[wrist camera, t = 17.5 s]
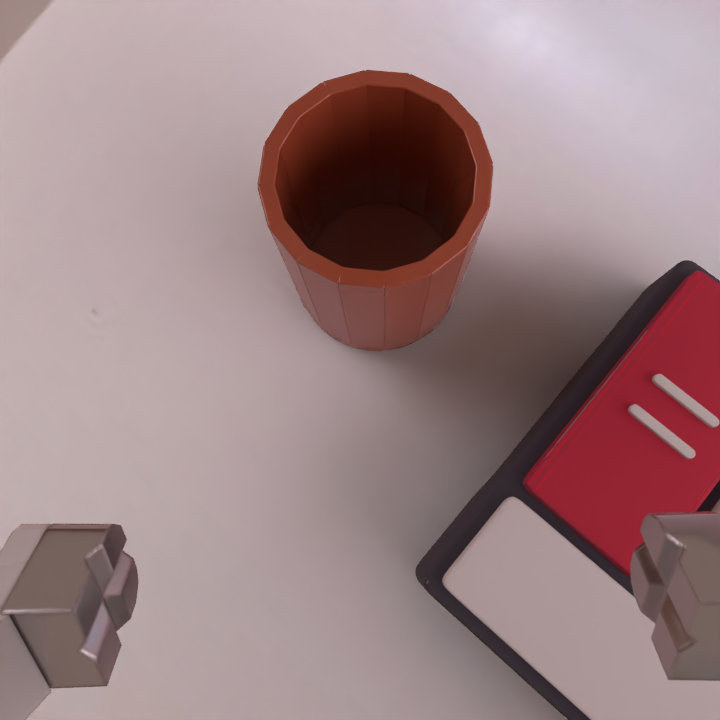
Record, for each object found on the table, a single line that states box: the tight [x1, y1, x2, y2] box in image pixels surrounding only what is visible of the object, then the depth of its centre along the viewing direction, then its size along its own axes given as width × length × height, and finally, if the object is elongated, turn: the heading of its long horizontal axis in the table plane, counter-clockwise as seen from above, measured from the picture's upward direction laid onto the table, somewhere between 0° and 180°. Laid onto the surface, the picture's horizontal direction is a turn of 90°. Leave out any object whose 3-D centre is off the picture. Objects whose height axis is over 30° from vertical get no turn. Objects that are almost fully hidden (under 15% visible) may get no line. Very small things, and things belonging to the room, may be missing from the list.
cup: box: [258, 70, 493, 351], centre depth 22 cm, size 7×7×8 cm
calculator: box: [416, 261, 720, 720], centre depth 22 cm, size 11×4×15 cm
